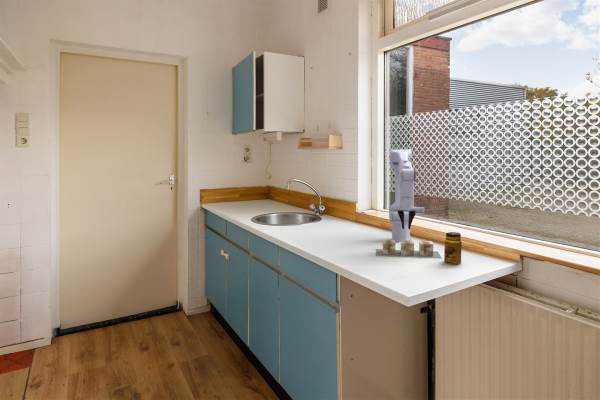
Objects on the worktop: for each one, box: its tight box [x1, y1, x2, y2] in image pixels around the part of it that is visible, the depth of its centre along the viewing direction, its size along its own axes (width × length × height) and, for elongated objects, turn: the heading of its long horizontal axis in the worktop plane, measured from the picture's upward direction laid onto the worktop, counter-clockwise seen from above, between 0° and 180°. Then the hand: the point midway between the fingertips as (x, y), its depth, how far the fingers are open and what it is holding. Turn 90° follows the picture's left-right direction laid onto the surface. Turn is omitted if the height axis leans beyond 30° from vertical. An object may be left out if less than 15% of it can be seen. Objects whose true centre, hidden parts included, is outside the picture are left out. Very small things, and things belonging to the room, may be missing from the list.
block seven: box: [418, 240, 434, 256], centre depth 159 cm, size 5×5×5 cm
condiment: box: [443, 231, 463, 266], centre depth 148 cm, size 7×8×12 cm
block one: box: [382, 239, 396, 255], centre depth 162 cm, size 5×5×5 cm
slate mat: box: [375, 248, 443, 259], centre depth 161 cm, size 26×11×1 cm, turn 79°
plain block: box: [400, 240, 415, 255], centre depth 161 cm, size 5×5×5 cm
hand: (406, 228), depth 164 cm, fingers closed
